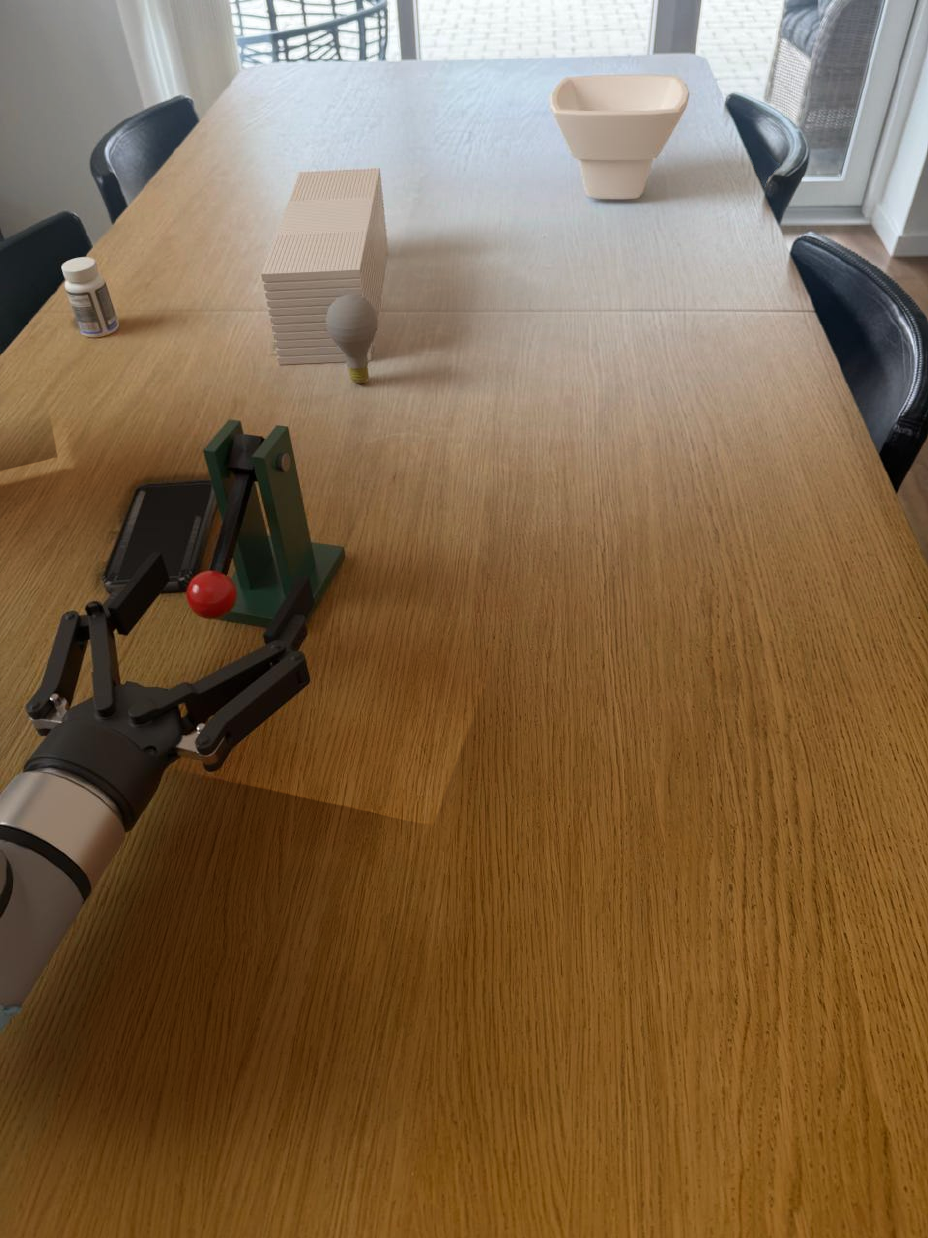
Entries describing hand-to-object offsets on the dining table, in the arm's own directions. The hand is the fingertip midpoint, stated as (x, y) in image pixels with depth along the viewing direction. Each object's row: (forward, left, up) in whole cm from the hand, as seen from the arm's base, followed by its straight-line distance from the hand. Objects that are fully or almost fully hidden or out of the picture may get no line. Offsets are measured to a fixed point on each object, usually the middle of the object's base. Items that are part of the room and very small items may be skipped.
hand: (233, 577), depth 74 cm
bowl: (-71, +73, -6) cm, 102 cm away
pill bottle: (-63, -4, -6) cm, 63 cm away
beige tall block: (-56, +25, -6) cm, 61 cm away
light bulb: (-35, +21, -6) cm, 41 cm away
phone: (-16, -4, -6) cm, 17 cm away
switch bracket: (-5, +4, -6) cm, 9 cm away
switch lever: (-2, +1, +2) cm, 3 cm away
